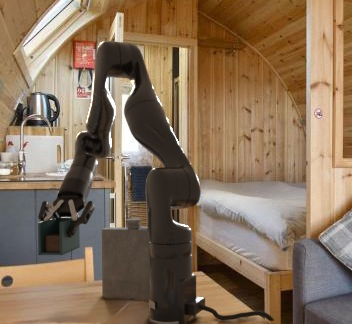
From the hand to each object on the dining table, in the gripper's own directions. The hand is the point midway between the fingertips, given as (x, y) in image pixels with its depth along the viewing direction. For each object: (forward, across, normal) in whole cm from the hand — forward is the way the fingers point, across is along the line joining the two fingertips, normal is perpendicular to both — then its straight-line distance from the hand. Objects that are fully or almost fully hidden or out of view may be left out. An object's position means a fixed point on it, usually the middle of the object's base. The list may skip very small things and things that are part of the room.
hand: (56, 235), depth 116 cm
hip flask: (+10, +19, +12) cm, 25 cm away
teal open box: (+2, 0, +4) cm, 5 cm away
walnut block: (+3, 0, +3) cm, 4 cm away
